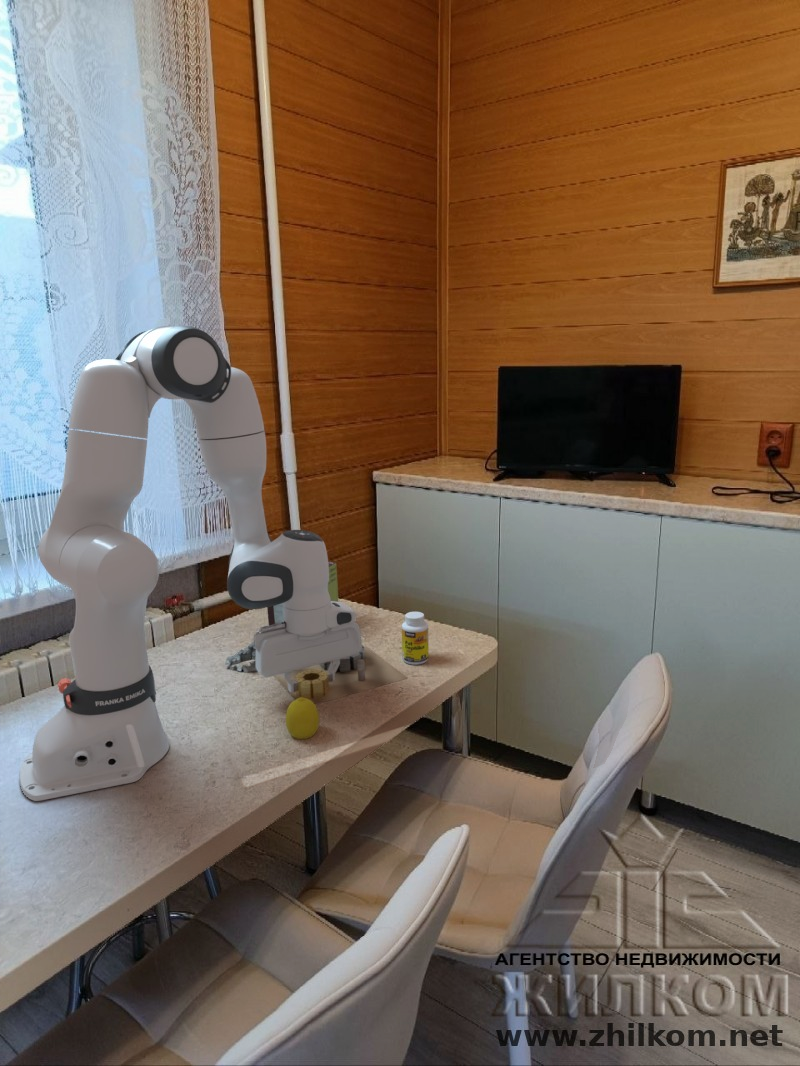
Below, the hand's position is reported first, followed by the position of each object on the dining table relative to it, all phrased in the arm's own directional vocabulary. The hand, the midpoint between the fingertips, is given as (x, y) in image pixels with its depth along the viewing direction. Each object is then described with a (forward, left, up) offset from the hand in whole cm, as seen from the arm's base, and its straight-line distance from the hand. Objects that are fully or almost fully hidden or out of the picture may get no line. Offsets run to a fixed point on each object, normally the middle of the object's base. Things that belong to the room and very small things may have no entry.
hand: (311, 685), depth 132 cm
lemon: (-7, -13, -3) cm, 15 cm away
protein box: (+11, +31, -3) cm, 33 cm away
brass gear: (0, 0, -1) cm, 1 cm away
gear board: (+7, +4, -3) cm, 8 cm away
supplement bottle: (+25, +4, -3) cm, 25 cm away
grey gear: (+10, +8, -1) cm, 13 cm away
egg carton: (-5, +19, -3) cm, 20 cm away
